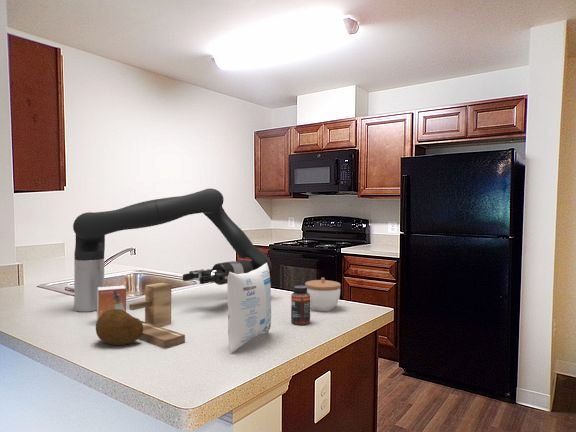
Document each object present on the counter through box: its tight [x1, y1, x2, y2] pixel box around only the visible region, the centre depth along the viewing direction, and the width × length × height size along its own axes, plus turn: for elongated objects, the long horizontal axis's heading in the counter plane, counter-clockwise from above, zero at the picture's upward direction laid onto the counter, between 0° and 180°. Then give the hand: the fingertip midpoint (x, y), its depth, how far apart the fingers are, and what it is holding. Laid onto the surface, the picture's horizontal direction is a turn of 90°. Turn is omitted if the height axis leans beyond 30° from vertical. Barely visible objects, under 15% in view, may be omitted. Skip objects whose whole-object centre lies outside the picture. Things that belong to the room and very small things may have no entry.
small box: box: [96, 284, 127, 322], centre depth 123 cm, size 8×6×10 cm
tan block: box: [128, 282, 172, 327], centre depth 117 cm, size 4×12×12 cm, turn 143°
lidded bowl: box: [304, 277, 342, 312], centre depth 141 cm, size 13×13×11 cm
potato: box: [95, 309, 143, 346], centre depth 103 cm, size 8×12×9 cm
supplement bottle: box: [290, 285, 311, 326], centre depth 123 cm, size 6×6×11 cm
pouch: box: [227, 263, 272, 354], centre depth 105 cm, size 8×19×20 cm, turn 151°
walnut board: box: [137, 320, 186, 350], centre depth 110 cm, size 26×6×2 cm, turn 53°
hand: (191, 279), depth 129 cm, fingers open, 8 cm apart
